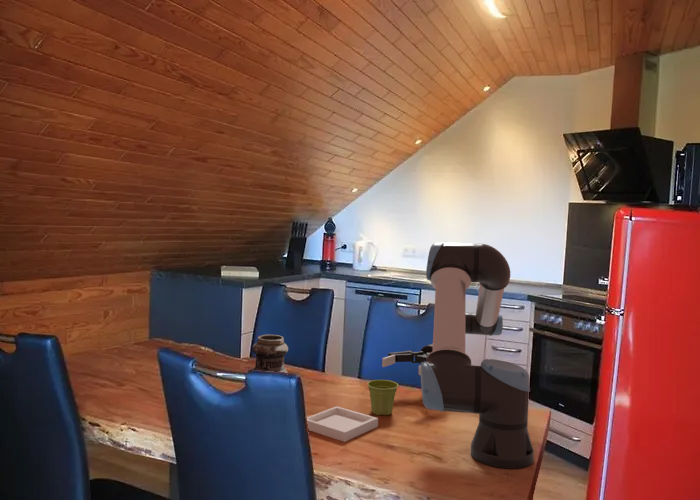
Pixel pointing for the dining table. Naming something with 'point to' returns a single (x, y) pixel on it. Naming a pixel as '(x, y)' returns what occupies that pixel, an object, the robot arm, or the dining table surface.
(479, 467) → the dining table surface
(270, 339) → the apothecary jar
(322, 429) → the pot tray
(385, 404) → the plant pot
